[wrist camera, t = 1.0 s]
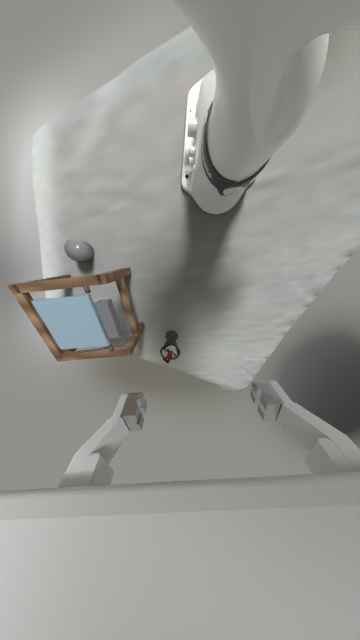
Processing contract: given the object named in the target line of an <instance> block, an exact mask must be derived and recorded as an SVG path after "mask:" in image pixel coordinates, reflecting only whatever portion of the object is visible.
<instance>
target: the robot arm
mask: <svg viewBox="0 0 360 640" xmlns="http://www.w3.org/2000/svg"><path fill="white" fill-rule="evenodd" d="M168 1H169V2H170V3H171V4H172V5H173V6H174V7H175V8H176V9H177V10H178V11H179V12H180V13H181V14H182V16H183V17H184V18H185V19H186V20H187V21H188V22H189V24H190V25H191V26H192V28H193V29H194V30H195V32H196V33H197V35H198V36H199V38H200V40H201V41H202V43H203V45H204V47H205V49H206V51H207V53H208V55H209V57H210V60H211V62H212V65H213V68H214V70H212V71H210V72H209V73H208V74H207V75H206V76H205V77H204V78H202V79H201V80H200V81H198V82H197V83H196V84H195V85H194V86H193V87H192V89H191V90H190V91H189V93H188V98H187V108H186V123H185V137H184V152H183V166H182V181H181V185H182V188H183V189H184V190H185V191H186V192H187V193H189V194H190V195H191V196H192V197H193V198H194V200H195V202H196V203H197V205H198V206H199V207H200V208H201V209H202V210H204V211H205V212H207V213H210V214H221V213H224V212H227V211H228V210H230V209H231V208H232V207H234V206H235V205H236V203H237V202H238V201H239V199H240V198H241V196H242V194H243V193H244V191H245V189H246V188H247V187H248V186H249V185H250V184H251V183H252V182H253V181H254V180H255V178H256V177H257V175H258V174H259V173H260V172H261V171H262V170H263V168H264V167H265V165H266V164H267V163H268V161H269V159H270V158H271V156H272V155H273V154H274V153H275V152H276V151H277V150H278V149H279V148H280V147H281V145H282V144H283V143H284V142H285V141H286V140H287V139H288V138H289V137H290V136H291V135H292V133H293V132H294V131H295V129H296V128H297V127H298V125H299V124H300V122H301V120H302V119H303V117H304V115H305V113H306V111H307V110H308V108H309V106H310V103H311V101H312V99H313V97H314V95H315V92H316V90H317V87H318V85H319V82H320V79H321V76H322V73H323V69H324V65H325V60H326V56H327V49H328V40H329V33H335V32H337V31H339V30H360V0H168ZM186 175H188V178H185V176H186ZM252 387H253V388H252V389H251V397H252V400H253V402H254V404H255V405H256V406H258V412H259V414H260V416H261V418H262V420H263V421H277V422H278V423H279V424H280V425H281V426H282V427H283V428H284V429H285V430H286V431H288V432H289V433H290V434H291V435H292V436H293V437H294V438H295V439H296V440H297V441H298V442H299V443H301V444H302V445H303V446H304V447H305V448H306V449H307V450H308V451H309V454H308V455H307V457H306V459H305V461H306V463H307V465H308V467H309V468H310V470H311V472H312V473H313V474H301V475H282V476H264V477H246V478H227V479H208V480H192V481H172V482H153V483H136V484H116V485H110V484H111V481H112V477H113V474H114V471H113V469H112V468H111V467H110V466H109V462H110V461H111V459H112V458H113V457H114V455H115V454H116V452H117V451H118V449H119V448H120V446H121V445H122V443H123V442H124V440H125V439H126V437H127V436H128V434H129V433H130V431H137V430H142V427H143V422H144V418H143V415H144V414H145V412H146V400H145V398H143V396H144V394H143V392H141V393H127V394H122V395H121V397H120V399H119V401H118V404H117V407H116V409H115V411H114V414H113V416H112V418H109V419H108V420H107V421H106V422H105V423H104V424H103V425H102V426H101V427H100V429H99V430H98V431H97V432H96V433H95V434H94V435H93V436H92V437H91V438H90V439H89V440H88V441H87V442H86V443H85V444H84V445H83V446H82V447H81V448H80V449H79V450H78V451H77V453H75V455H74V457H73V459H72V461H71V463H70V465H69V467H68V469H67V471H66V473H65V474H64V476H63V478H62V480H61V482H60V484H59V486H58V488H43V489H25V490H6V491H0V640H360V450H359V448H358V447H357V446H356V445H355V444H354V443H353V442H352V441H351V440H350V439H349V438H348V437H347V436H346V435H345V434H343V433H342V432H340V431H338V430H337V429H335V428H334V427H332V426H330V425H329V424H327V423H326V422H324V421H323V420H321V419H319V418H318V417H317V416H315V415H314V414H312V413H310V412H309V411H307V410H306V409H304V408H302V407H301V406H300V405H298V404H296V403H293V402H292V401H291V400H290V398H289V397H288V396H287V394H286V393H285V392H284V390H283V389H282V388H281V387H280V386H279V384H278V383H277V382H276V381H274V380H273V381H261V382H253V383H252Z"/></svg>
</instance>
